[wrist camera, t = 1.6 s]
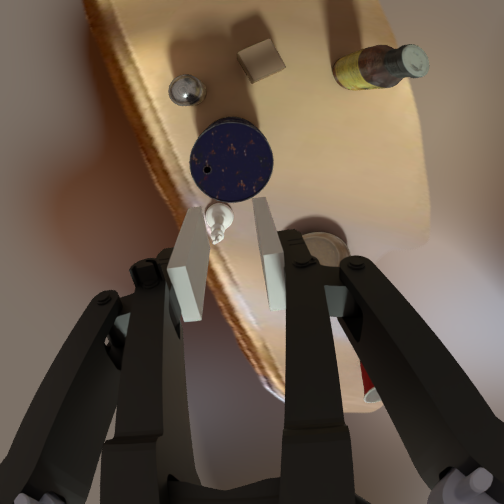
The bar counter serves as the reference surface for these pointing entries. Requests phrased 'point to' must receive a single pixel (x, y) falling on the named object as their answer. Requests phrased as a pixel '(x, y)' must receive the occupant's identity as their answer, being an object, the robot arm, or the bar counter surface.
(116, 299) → the robot arm
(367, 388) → the plastic cup
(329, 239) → the saucer
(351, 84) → the sauce bottle
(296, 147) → the bar counter surface
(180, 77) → the metal shaker
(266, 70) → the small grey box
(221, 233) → the chess piece
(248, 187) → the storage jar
